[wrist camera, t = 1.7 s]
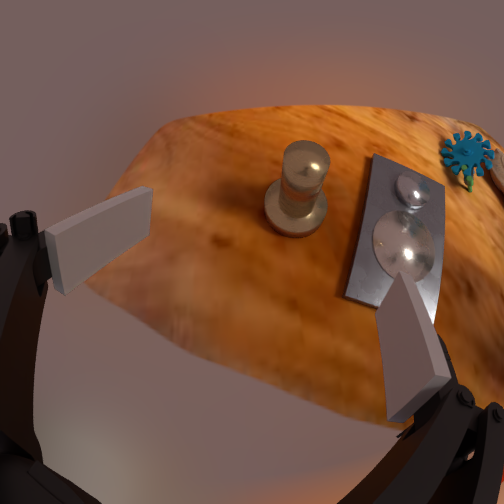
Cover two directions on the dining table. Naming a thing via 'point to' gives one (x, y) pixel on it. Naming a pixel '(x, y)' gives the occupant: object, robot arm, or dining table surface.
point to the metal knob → (298, 191)
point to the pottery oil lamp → (498, 169)
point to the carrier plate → (398, 235)
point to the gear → (468, 156)
